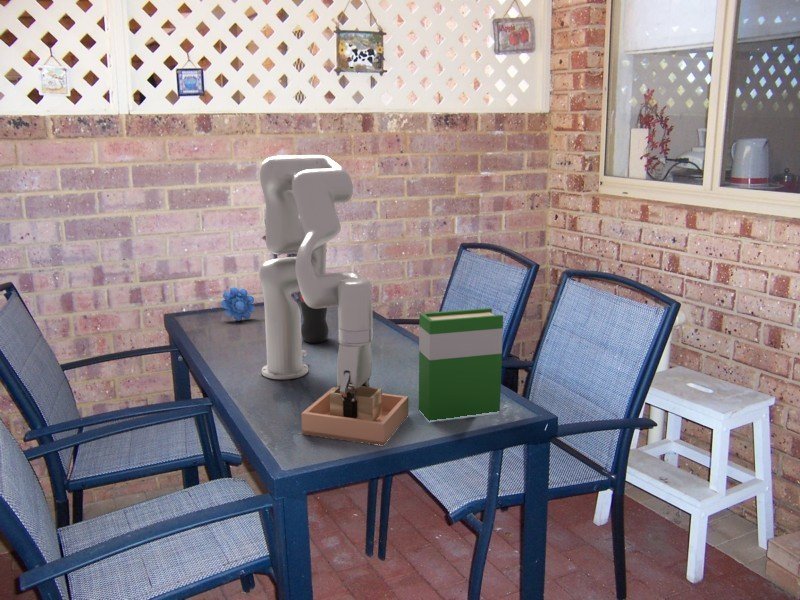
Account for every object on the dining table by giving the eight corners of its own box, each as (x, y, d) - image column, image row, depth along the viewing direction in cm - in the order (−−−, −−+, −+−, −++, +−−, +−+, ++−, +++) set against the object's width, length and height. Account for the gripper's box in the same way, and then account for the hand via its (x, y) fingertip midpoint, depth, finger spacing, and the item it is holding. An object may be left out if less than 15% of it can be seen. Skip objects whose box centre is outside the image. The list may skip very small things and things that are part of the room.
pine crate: (341, 407, 170) (341, 383, 169) (382, 413, 167) (382, 388, 166) (330, 418, 164) (329, 393, 163) (371, 424, 161) (371, 398, 160)
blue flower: (224, 325, 247) (222, 290, 244) (220, 320, 253) (218, 286, 250) (258, 322, 251) (257, 287, 248) (254, 317, 257) (252, 283, 254)
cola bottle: (329, 336, 235) (327, 243, 227) (327, 344, 226) (325, 248, 219) (302, 336, 234) (300, 243, 227) (300, 344, 226) (297, 248, 219)
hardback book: (487, 402, 180) (490, 307, 174) (499, 414, 173) (503, 315, 167) (418, 410, 175) (419, 313, 169) (428, 422, 168) (430, 321, 162)
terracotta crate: (333, 406, 177) (332, 387, 176) (408, 416, 171) (408, 396, 170) (302, 434, 161) (301, 413, 160) (383, 446, 156) (383, 424, 154)
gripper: (354, 323, 170) (355, 395, 175) (323, 344, 155) (325, 423, 159) (384, 326, 168) (385, 399, 172) (356, 347, 152) (357, 428, 156)
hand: (356, 410), depth 166 cm, fingers closed on pine crate, 6 cm apart
